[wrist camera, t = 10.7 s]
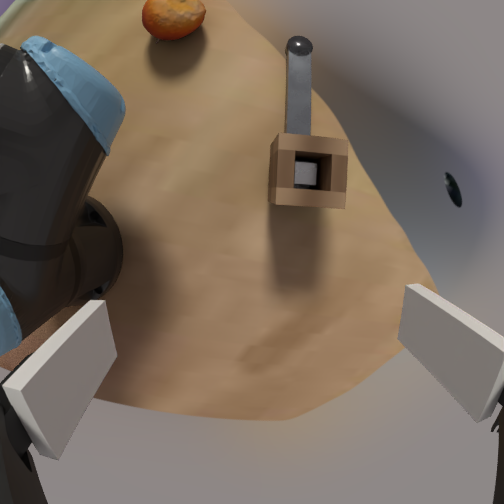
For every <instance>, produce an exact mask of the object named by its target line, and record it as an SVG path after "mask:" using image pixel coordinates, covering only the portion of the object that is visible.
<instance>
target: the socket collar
mask: <svg viewBox="0 0 504 504" xmlns="http://www.w3.org/2000/svg"><path fill="white" fill-rule="evenodd" d="M295 160H302V161H312V163H316V164H317V172H316V185H311V190H308V189H294V168H295ZM347 164H348V140H343V139H336V138H328V137H319V136H310V135H300V134H289V133H278V135H277V136H276V138H275V139H274V141H273V142H272V144H271V145H270V167H269V188H268V201H269V202H271V203H274V204H276V205H294V206H310V207H324V208H337V209H345V202H346V185H347Z"/></svg>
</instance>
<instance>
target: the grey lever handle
mask: <svg viewBox="0 0 504 504" xmlns="http://www.w3.org/2000/svg"><path fill="white" fill-rule="evenodd" d="M312 49H313V46H312V43H311V42H310V41H309V40H308V39H307V38H305V37H302V36H294V37H292V38H291V39H289V41H288V43H287V46H286V49H285V53H286V56H287V62H286V101H285V131H284V133H289V134H300V135H310V127H311V52H312ZM316 172H317V164H316V163H312V161H302V160H295V168H294V189H308V190H311V185H316Z"/></svg>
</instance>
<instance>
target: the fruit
mask: <svg viewBox="0 0 504 504" xmlns="http://www.w3.org/2000/svg"><path fill="white" fill-rule="evenodd" d="M205 13H206V9H205V7H204V5H203V3H202V2H201V1H200V0H147V2H146V3H145V5H144V7H143V10H142V23H143V26H144V27H145V29H146V30H147V31H148V32H149V33H150V34H151V35H153V36H154V37H156V38H157V41H156V44H157V43H158V42H159V40H160V39H161V40H176V39H180V38H182V37H184V36H186V35H188V34H190V33H192V32H193V31H195V30H196V29H197V28H198V27H199V26H200V25H201V23H202V22H203V20H204V16H205Z"/></svg>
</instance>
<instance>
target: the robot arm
mask: <svg viewBox="0 0 504 504" xmlns="http://www.w3.org/2000/svg"><path fill="white" fill-rule="evenodd" d="M20 49H21V50H17V49H15V48H12V47H10V46H8V45H5V44H2V43H1V44H0V356H2V355H3V354H5V353H7V352H8V351H10V350H12V349H13V348H17V347H18V346H19V345H20V343H21V341H23V340H24V339H25V338H26V337H27V336H29V335H30V334H31V333H32V332H34V331H35V330H36V329H37V328H39V327H40V326H41V325H42V324H44V323H45V322H46V321H48V320H49V319H50V318H51V317H53V316H54V315H55V314H57V313H58V312H59V311H60V310H62V309H63V308H64V307H68V306H77V305H84V306H83V307H82V308H81V309H80V310H79V311H78V312H77V313H75V314H74V315H73V316H72V317H71V318H70V319H69V320H68V321H67V322H66V323H65V324H64V325H62V326H61V327H60V328H59V329H58V330H57V331H56V332H55V333H54V334H53V335H52V336H51V337H50V338H49V339H48V340H47V341H46V342H45V343H44V344H43V345H42V346H40V347H39V348H38V349H37V350H36V351H35V352H33V353H31V354H30V355H28V356H26V357H25V358H24V359H23V360H22V361H21V362H20V363H19V365H17V366H16V367H15V368H14V369H13V371H11V372H10V374H9V375H7V376H6V378H5V379H4V380H3V381H2V382H1V383H0V504H48V503H47V500H46V497H45V495H44V492H43V489H42V486H41V483H40V481H39V477H38V474H37V471H36V468H35V464H34V462H33V458H32V455H31V454H30V452H29V450H28V447H29V446H30V444H31V443H33V444H34V446H35V448H36V449H37V450H38V452H39V454H40V455H43V456H46V457H50V458H52V459H56V460H59V458H60V457H61V455H62V453H63V451H64V449H65V447H66V445H67V443H68V442H69V440H70V438H71V436H72V434H73V432H74V430H75V429H76V427H77V425H78V423H79V421H80V419H81V418H82V416H83V414H84V412H85V411H86V409H87V407H88V405H89V403H90V402H91V400H92V398H93V396H94V395H95V393H96V391H97V390H98V388H99V386H100V384H101V383H102V381H103V379H104V378H105V376H106V374H107V373H108V371H109V369H110V368H111V366H112V364H113V363H114V361H115V359H116V358H117V352H116V348H115V343H114V339H113V335H112V331H111V326H110V321H109V317H108V312H107V307H106V301H105V300H97V299H99V298H100V297H101V296H102V295H104V294H105V293H106V292H107V291H108V290H109V289H110V288H111V287H112V286H113V285H114V283H115V281H116V280H117V278H118V275H119V273H120V269H121V265H122V258H123V249H122V241H121V236H120V232H119V229H118V227H117V225H116V222H115V220H114V219H113V217H112V215H111V214H110V213H109V211H108V210H107V209H106V208H105V207H104V206H103V205H102V204H101V203H100V202H98V201H97V200H95V199H94V198H92V197H90V196H88V193H89V191H90V189H91V187H92V184H93V182H94V180H95V178H96V176H97V174H98V172H99V170H100V168H101V166H102V164H103V162H104V160H105V158H106V156H109V154H110V146H111V144H112V142H113V140H114V138H115V136H116V134H117V132H118V130H119V128H120V126H121V124H122V122H123V119H124V117H125V112H126V107H125V102H124V100H123V97H122V96H121V94H120V93H119V91H118V90H117V89H116V88H115V87H114V86H113V85H112V84H111V83H110V82H109V81H108V80H107V79H106V78H105V77H104V76H103V75H101V74H100V73H99V72H98V71H97V70H95V69H94V68H93V67H91V66H90V65H89V64H87V63H86V62H85V61H83V60H82V59H80V58H79V57H78V56H76V55H75V54H73V53H72V52H70V51H68V50H67V49H65V48H63V47H61V46H57V45H56V44H54V43H52V42H50V41H49V40H47V39H45V38H43V37H39V36H32V37H30V38H29V39H28V40H27V41H25V42H23V43H22V45H21V47H20ZM397 339H398V340H399V341H400V342H401V343H402V344H403V345H404V346H405V347H406V348H407V349H408V350H409V351H410V352H411V353H412V354H413V355H414V356H415V357H416V358H417V359H418V360H419V362H420V363H422V365H423V366H424V367H425V368H426V369H427V370H428V371H429V372H430V373H431V374H432V375H433V376H434V377H435V378H436V379H437V380H438V381H439V382H440V384H442V386H443V387H444V388H445V389H446V390H447V391H448V392H449V393H450V394H451V395H452V396H453V397H454V399H455V400H456V401H457V402H458V403H459V404H460V405H461V406H462V407H463V408H464V409H465V411H466V412H468V414H469V415H470V416H471V417H472V418H473V419H474V421H475V422H476V423H478V422H480V421H482V420H484V419H486V418H488V417H490V416H491V415H492V413H493V411H494V409H495V407H496V405H497V403H498V402H499V403H500V404H501V405H502V406H503V407H502V409H501V411H500V413H499V415H498V417H497V419H496V421H495V423H494V424H493V426H492V428H491V432H493V431H494V429H495V428H496V426H497V425H499V429H498V430H497V432H499V448H498V464H497V465H498V466H497V476H496V485H495V492H494V500H493V504H504V337H503V336H501V335H499V334H498V333H497V332H495V331H494V330H492V329H491V328H489V327H488V326H486V325H484V324H483V323H481V322H480V321H478V320H476V319H475V318H474V317H472V316H470V315H469V314H467V313H466V312H464V311H463V310H461V309H460V308H458V307H456V306H455V305H453V304H452V303H450V302H448V301H447V300H445V299H443V298H442V297H440V296H439V295H437V294H435V293H434V292H432V291H430V290H429V289H427V288H425V287H424V286H422V285H420V284H410V285H405V293H404V301H403V308H402V315H401V321H400V327H399V333H398V338H397Z"/></svg>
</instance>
